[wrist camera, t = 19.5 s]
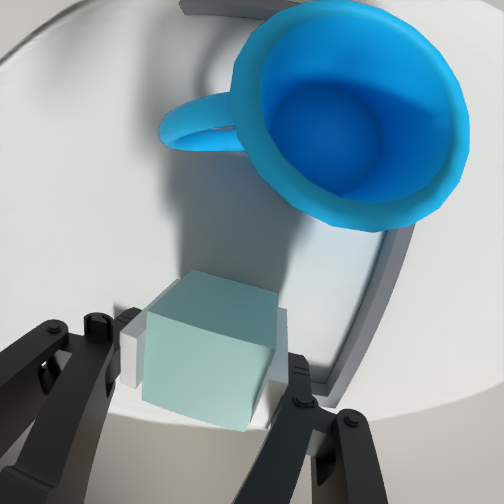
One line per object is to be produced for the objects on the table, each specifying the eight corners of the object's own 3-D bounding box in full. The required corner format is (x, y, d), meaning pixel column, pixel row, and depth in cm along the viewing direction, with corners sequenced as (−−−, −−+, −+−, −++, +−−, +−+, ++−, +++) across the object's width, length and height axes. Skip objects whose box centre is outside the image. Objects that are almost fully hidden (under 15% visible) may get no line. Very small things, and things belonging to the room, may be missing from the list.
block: (192, 269, 16) (147, 310, 10) (278, 292, 16) (276, 349, 10) (179, 341, 17) (141, 399, 11) (255, 363, 17) (244, 432, 11)
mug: (382, 82, 13) (444, 23, 6) (392, 211, 15) (473, 232, 7) (188, 86, 15) (125, 25, 7) (193, 214, 17) (121, 239, 9)
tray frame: (116, 334, 19) (107, 344, 18) (189, 4, 13) (183, -7, 12) (332, 395, 18) (335, 408, 17) (430, 62, 12) (440, 55, 11)
